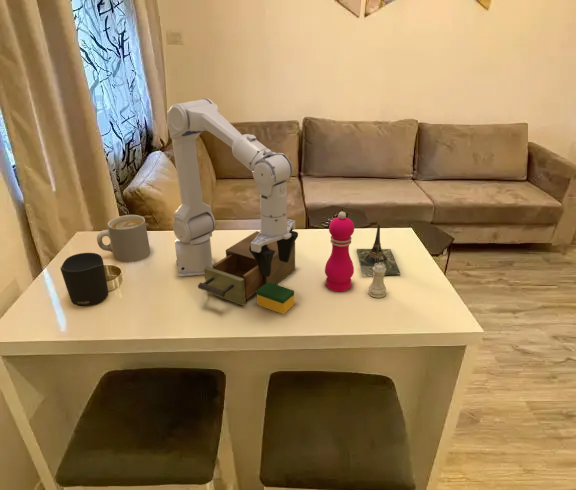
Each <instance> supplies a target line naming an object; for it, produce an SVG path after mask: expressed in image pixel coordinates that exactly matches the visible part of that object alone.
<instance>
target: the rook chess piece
mask: <svg viewBox="0 0 576 490" xmlns="http://www.w3.org/2000/svg"><path fill="white" fill-rule="evenodd" d="M373 270H374V273H373V275H374V276H372V277H373V278H372V281H371V283H370V284H369V286H368V289H367V293H368V294H369V296H371V297H372V298H375V299H380V298H384V297H385V296H386V295H387V286H386V285H385V279H384V278H385V276H386V275H385V274H384V272H385V271H386V268H385V265H384V264H382V265H381V263H379V264H378V265H377V263H376V264H375V265H374V267H373Z"/></svg>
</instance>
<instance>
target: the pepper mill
mask: <svg viewBox="0 0 576 490" xmlns="http://www.w3.org/2000/svg"><path fill="white" fill-rule="evenodd" d="M328 231H329V234H330V235H331V236H330V243H331V246H332V247H331V254H330V256H329V257H328V259H327V261H326V263H325V266H324V274H325V276H326V281H325V285H326V287H327V288H328V289H329V290H331V291H334V292H345V291H348V290H349V289H350V288H351V287H352V277H353V275H354V272H355V268H354V262H353V260H352V258H351V256H350V255H351V254H350V245H351V244H352V239H353V238H352V235H353V234H354V232H355V224H354V222H353V220H352V219H350V218H349V217H347V214H346V212H345V211H340V212H339V213H338V216H337V217H335V218H333V219H331V221H330V222H329V225H328Z"/></svg>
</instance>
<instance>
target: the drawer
mask: <svg viewBox="0 0 576 490" xmlns="http://www.w3.org/2000/svg"><path fill="white" fill-rule="evenodd" d="M204 273H205V274H204V280H205V281H204V282H199V283H198V285H197V288H198V290H201V291H205V292H206V293H208V294H211V295H213V296H216V297H219V298H221V299H225V300H227V301H230V302H233V303H235V304H238V305H241V306H244V305H245V304H246V300H248V299H249V298H250V297H251V296H253V295H254V294H256V293H257V290H258V289H260V288H261V287H262V286H264V275H261V273H260V270H259V267H258V264H257V262H255V261H252V260H249V259H246V258H242V257H239V256H236V255H233V254H230V255H228V256H227V257H226V256H225V257H223V258H222V259H220V260H219V261H217V262H215V263H214V265H213V268H211V267H208V266H207V267H205V268H204Z"/></svg>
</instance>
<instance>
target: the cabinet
mask: <svg viewBox="0 0 576 490" xmlns="http://www.w3.org/2000/svg"><path fill="white" fill-rule="evenodd" d="M259 232H260V231H257V230H256V231H254V232H253V233H251V234H249V235H248V236H246V237H245V238H243V239H241V240H239V241H238V242H236V243H234V244H233V245H231V246H230V247H228V248H227V249H225V257H227V256H228V255H230V254H233V255H236V256H239V257H242V258H246V259H249V260H252V261H255V262H256V260H255V258H254V256H253V255H252V253H251V252H250V251H249V246H251V242H252V241H254V240H255V238H256V237H257V235H258V233H259ZM267 247H269V249H271V250H274V251H275V253H274V255H273V258H272V263H271V273H270V276H269V277H267V276H264V285H265V284H266V283H267V282H270V283H273V284H276V285H278V284H279V283H280V282H281V281H283V280H284V279H285V278H286V277H289V275H290V274H292V273H293V272H294V271H296V241H295V242H294V244H293V247H292V250H291V254H290V258H289V261H288V262H287V263H286V262H283V261H280V260H279V254H278V246H277V241H275V242H272V243H269V244H268V245H267Z"/></svg>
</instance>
